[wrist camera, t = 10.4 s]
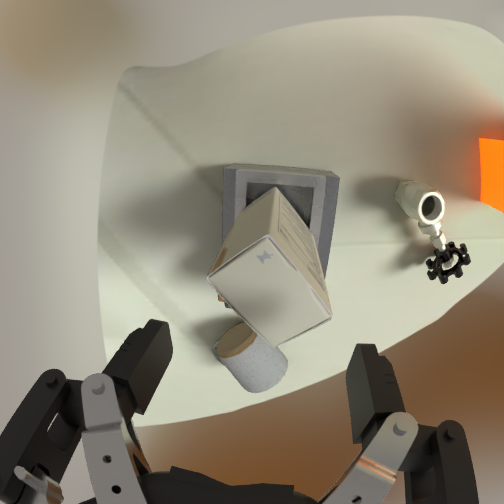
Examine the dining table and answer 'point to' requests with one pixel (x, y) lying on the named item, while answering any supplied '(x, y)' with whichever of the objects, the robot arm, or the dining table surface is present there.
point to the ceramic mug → (250, 358)
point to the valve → (431, 227)
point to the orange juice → (492, 172)
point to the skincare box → (272, 271)
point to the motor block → (293, 189)
